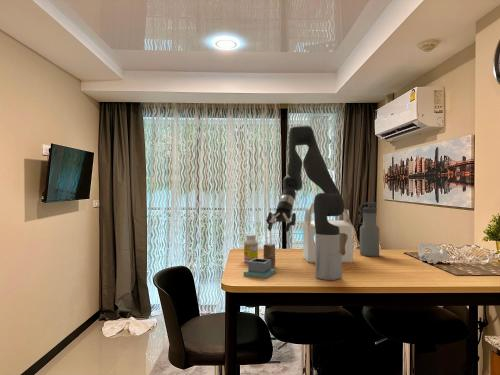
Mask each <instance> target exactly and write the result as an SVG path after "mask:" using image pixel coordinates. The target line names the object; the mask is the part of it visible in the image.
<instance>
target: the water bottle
mask: <svg viewBox="0 0 500 375" xmlns="http://www.w3.org/2000/svg"><path fill="white" fill-rule="evenodd" d="M367 205H369V206H367ZM376 205H377V203H376V202H375V201H374V202H373V201H371V202H370V201H367V202H362V203H361V204H359V206H358V212H359V214H358V216H357V217H358V220H357V222H358V225H360V227H359V254H360V255H361V256H363V255H365V256H364V257H379V256H380V227H379V226H378V225H377V212H378V211H377V207H376ZM361 216H362V222H361Z"/></svg>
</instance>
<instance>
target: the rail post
mask: <svg viewBox="0 0 500 375" xmlns="http://www.w3.org/2000/svg"><path fill="white" fill-rule="evenodd" d="M263 259H269V260H271V269H274V268H275V267H276V243H265V244H263Z"/></svg>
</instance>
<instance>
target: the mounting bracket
mask: <svg viewBox="0 0 500 375" xmlns="http://www.w3.org/2000/svg"><path fill="white" fill-rule="evenodd" d="M425 249H429V250H430V251H429V252H425ZM417 250H418V251H417V252H418V256H419V260H421V261H420V262H422V260H427V263H428V262H438V261H440V262H441V261H444V260H448V261H449V260H451V261H452V262H453V260H452V259H451V258H450V256H449V255H450V254H448V253H447V251H446V249H445V248H441V249H439V248H438V245H436V244H435V243H418V244H417Z"/></svg>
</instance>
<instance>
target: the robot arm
mask: <svg viewBox="0 0 500 375" xmlns="http://www.w3.org/2000/svg"><path fill="white" fill-rule="evenodd" d="M296 146H307V147H308V149H307V151H306V153H305V156H304V157H303V160H302V158H301V157H300V154H299V153H298V152H297V149H296ZM302 168H303V169H304V171H305V175H306V177H307V178H308V179H309V180H310V181H311V182H312V183H314V185H316V186H317V187H319V189H321V190H322V192H319V193H317V194H316V195H315V196H314V198H313V203H314V213H313V215H314V216H313V217H314V219H313V220H315V229H316V234H315V244H316V262H315V277H316V279H319V280H325V281H326V280H327V281H336V280H339V279H342V278H343V276H342V275H343V274H342V273H343V272H342V270H343V262H342V254H341V253H339V236H340V230H339V227H338V226H336V225H333V224H331V223H329V222H328V220H329V219H328V217H339V216H341V215H342V216H343V212H344V209H345V201H344V198H343V196H342V194H341V192H340V191H339V189H338V187H337V185H336V184H335V182H334V181H333V178H332V176H331V174H330V172H329V169H328V166H327V164H326V161H325V160H324V158H323V156H322V153H321V150H320V148H319V146H318V142H317V139H316V136H315V133H314V130H313V128H312V126H310V125H307V124H305V125H294V126H291V127H290V128H289V131H288V166H287V175H286V176H284V178H283V180H282V192H281V193H282V194H281V196H280V198H279V201H278V204H277V207H276V210H275V212H274V213H272V212H271V211H270V212H269V213H268V215H267V217H266V220H265V221H266V223H267V229H268V232H272V230H273V229H272V228H273V225H275V224H277V223H286V224H285V228H284V230H285V233H288V232H289V231H290V228H291V226H295V224H296V221H297V215H296V212H293V208H294V202H295V200H296V195H297V192H298V191H301V189H302V188H303V178H302ZM292 212H293V213H292ZM290 219H291V221H290Z"/></svg>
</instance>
